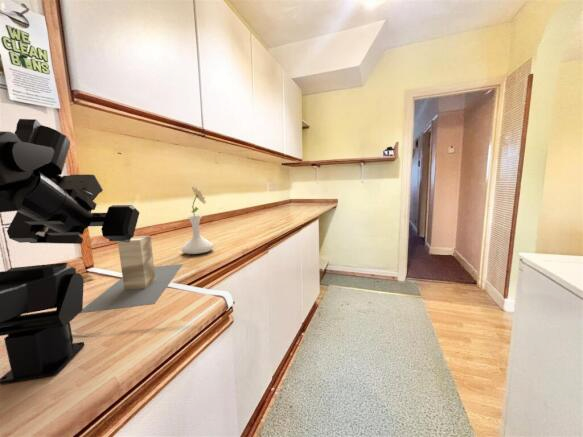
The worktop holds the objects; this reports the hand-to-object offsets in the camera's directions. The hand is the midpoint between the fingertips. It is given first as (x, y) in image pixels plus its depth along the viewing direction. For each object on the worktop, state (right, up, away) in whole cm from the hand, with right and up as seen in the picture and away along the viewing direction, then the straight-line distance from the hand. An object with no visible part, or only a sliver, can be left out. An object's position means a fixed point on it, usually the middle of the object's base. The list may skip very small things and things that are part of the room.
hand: (105, 240), depth 50 cm
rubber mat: (0, -12, +12) cm, 17 cm away
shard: (-18, -14, +13) cm, 26 cm away
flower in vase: (+3, -8, +42) cm, 43 cm away
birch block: (+1, -12, +11) cm, 16 cm away
